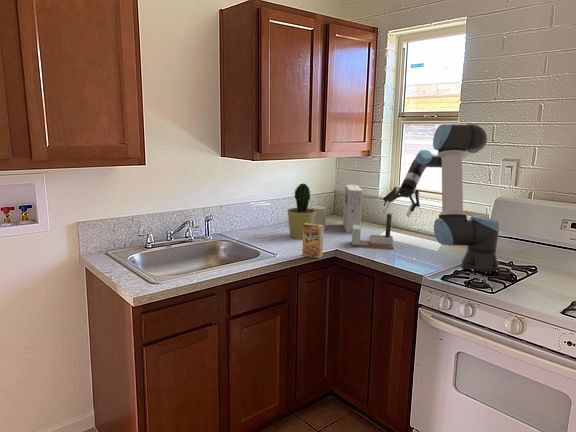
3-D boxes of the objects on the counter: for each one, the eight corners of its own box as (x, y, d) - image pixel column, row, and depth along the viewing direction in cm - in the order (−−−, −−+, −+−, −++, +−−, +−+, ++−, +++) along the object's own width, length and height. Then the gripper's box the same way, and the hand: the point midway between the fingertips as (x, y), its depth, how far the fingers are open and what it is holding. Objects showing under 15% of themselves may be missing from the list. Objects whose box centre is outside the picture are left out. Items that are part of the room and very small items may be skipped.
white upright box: (359, 233, 261) (362, 190, 255) (346, 233, 261) (349, 189, 256) (355, 225, 282) (357, 185, 277) (342, 224, 282) (345, 184, 277)
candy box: (301, 255, 213) (303, 224, 210) (305, 253, 217) (306, 222, 214) (319, 258, 210) (321, 226, 207) (322, 256, 214) (324, 224, 211)
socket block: (359, 244, 231) (360, 229, 230) (351, 244, 232) (352, 229, 230) (359, 239, 241) (360, 225, 240) (352, 239, 242) (352, 224, 240)
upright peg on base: (391, 243, 233) (393, 214, 230) (369, 242, 234) (371, 213, 231) (390, 242, 235) (393, 213, 232) (369, 241, 237) (371, 212, 234)
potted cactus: (298, 231, 260) (300, 179, 253) (320, 236, 250) (322, 182, 244) (280, 236, 248) (282, 182, 242) (303, 241, 238) (305, 185, 232)
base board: (393, 249, 229) (393, 247, 229) (351, 246, 232) (351, 244, 232) (392, 244, 239) (392, 242, 239) (351, 241, 242) (352, 239, 242)
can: (328, 225, 277) (329, 206, 275) (321, 228, 270) (322, 208, 267) (314, 223, 282) (315, 204, 280) (307, 226, 275) (308, 206, 272)
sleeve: (392, 245, 232) (392, 238, 231) (370, 244, 233) (370, 236, 233) (391, 243, 236) (392, 235, 235) (370, 241, 238) (370, 234, 237)
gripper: (433, 190, 241) (419, 221, 233) (391, 184, 257) (376, 214, 248) (430, 180, 236) (416, 213, 228) (387, 176, 252) (372, 206, 243)
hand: (395, 213), depth 238 cm, fingers open, 13 cm apart
